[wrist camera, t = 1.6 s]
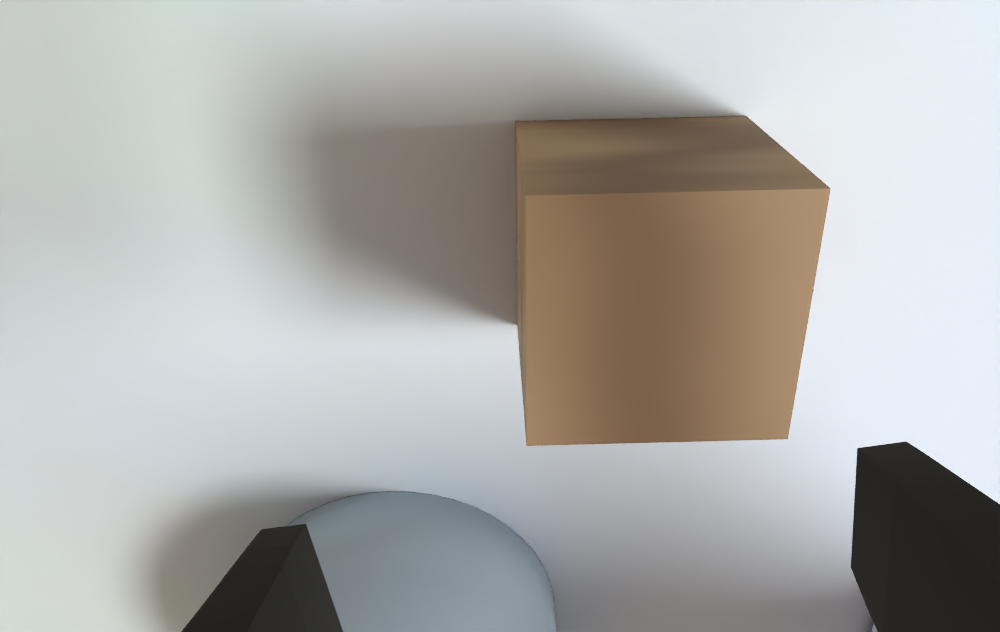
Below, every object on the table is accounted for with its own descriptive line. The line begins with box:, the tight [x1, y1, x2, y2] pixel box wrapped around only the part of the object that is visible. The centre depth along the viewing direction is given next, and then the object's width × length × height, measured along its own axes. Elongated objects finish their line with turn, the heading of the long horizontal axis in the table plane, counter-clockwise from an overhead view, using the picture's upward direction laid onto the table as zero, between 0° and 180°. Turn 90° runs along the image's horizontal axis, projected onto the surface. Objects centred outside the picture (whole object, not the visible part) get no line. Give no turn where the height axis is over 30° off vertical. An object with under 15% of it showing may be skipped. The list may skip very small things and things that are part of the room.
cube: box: [515, 116, 830, 446], centre depth 17 cm, size 5×5×5 cm
